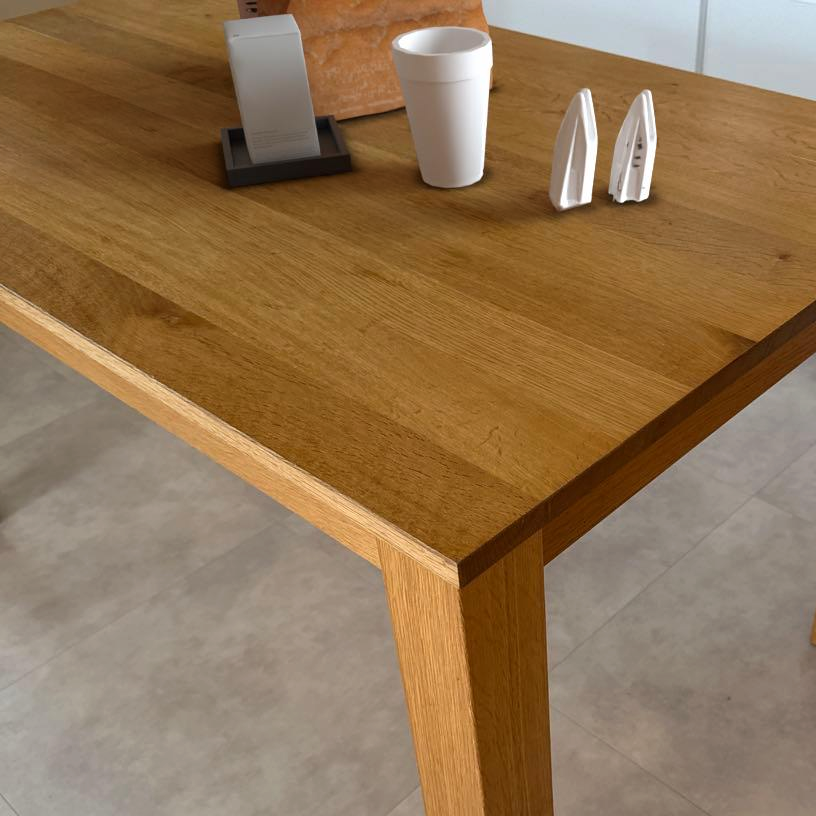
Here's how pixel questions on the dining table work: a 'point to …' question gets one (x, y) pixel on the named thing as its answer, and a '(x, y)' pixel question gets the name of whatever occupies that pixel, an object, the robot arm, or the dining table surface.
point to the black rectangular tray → (246, 173)
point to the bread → (364, 46)
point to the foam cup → (446, 100)
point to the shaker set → (580, 152)
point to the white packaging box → (272, 87)
